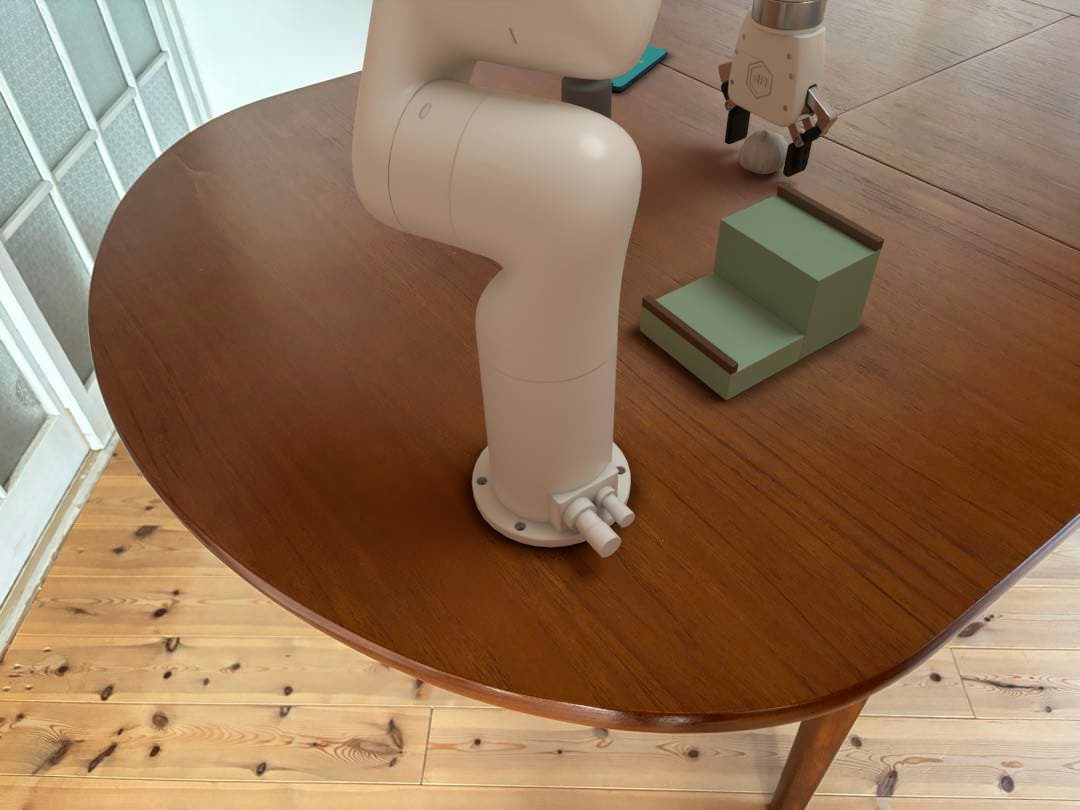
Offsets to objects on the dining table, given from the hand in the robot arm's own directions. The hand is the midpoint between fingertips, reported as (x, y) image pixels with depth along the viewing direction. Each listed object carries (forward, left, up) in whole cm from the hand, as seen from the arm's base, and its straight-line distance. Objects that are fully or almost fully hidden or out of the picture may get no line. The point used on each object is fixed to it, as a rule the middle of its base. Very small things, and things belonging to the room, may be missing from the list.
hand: (764, 156), depth 102 cm
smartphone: (+33, -5, -2) cm, 33 cm away
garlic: (0, 0, -2) cm, 2 cm away
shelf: (-21, +22, -2) cm, 31 cm away
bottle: (+14, +16, -2) cm, 21 cm away
